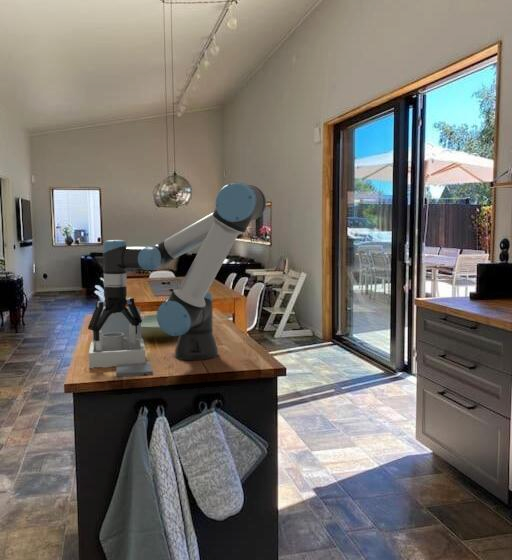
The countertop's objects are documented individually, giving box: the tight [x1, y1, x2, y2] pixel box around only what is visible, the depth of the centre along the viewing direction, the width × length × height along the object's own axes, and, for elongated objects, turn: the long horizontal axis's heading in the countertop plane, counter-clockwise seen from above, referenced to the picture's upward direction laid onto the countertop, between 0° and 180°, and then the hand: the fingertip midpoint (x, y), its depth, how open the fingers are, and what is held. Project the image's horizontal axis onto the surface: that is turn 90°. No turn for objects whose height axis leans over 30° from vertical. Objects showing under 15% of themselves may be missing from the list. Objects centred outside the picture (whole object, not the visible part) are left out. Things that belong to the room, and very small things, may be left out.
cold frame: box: [88, 307, 147, 369], centre depth 196 cm, size 23×18×16 cm
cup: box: [102, 333, 132, 352], centre depth 193 cm, size 7×10×9 cm
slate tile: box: [115, 362, 154, 378], centre depth 180 cm, size 11×11×1 cm
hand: (116, 346), depth 193 cm, fingers open, 13 cm apart
